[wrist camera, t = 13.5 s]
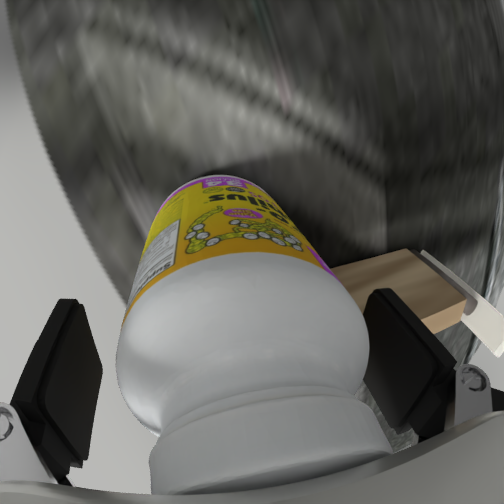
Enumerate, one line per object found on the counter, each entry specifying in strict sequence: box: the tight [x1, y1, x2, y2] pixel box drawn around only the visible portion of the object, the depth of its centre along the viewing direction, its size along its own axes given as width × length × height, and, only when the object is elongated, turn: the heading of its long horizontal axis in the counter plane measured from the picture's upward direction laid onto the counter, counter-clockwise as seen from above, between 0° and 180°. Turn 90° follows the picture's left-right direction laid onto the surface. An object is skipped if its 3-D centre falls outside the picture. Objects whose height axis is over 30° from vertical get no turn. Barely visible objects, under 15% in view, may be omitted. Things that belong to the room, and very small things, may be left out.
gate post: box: [420, 250, 504, 358], centre depth 15 cm, size 2×2×9 cm
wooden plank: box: [330, 249, 478, 334], centre depth 15 cm, size 2×18×6 cm, turn 99°
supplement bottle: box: [116, 175, 393, 495], centre depth 10 cm, size 7×7×13 cm
